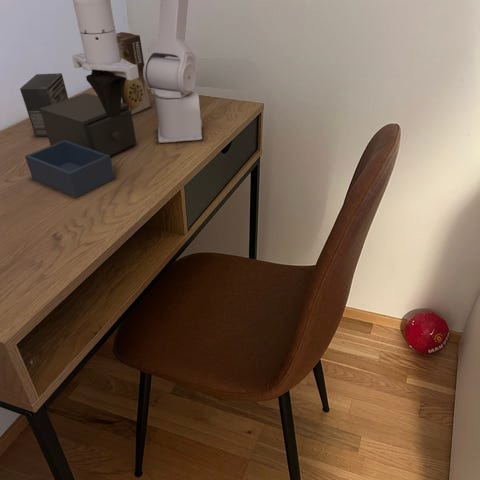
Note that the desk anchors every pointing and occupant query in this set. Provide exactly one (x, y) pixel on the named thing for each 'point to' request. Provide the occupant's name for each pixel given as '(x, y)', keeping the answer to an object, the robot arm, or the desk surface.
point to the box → (70, 168)
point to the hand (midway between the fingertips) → (114, 115)
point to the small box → (42, 97)
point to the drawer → (112, 133)
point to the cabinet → (74, 119)
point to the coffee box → (137, 88)
